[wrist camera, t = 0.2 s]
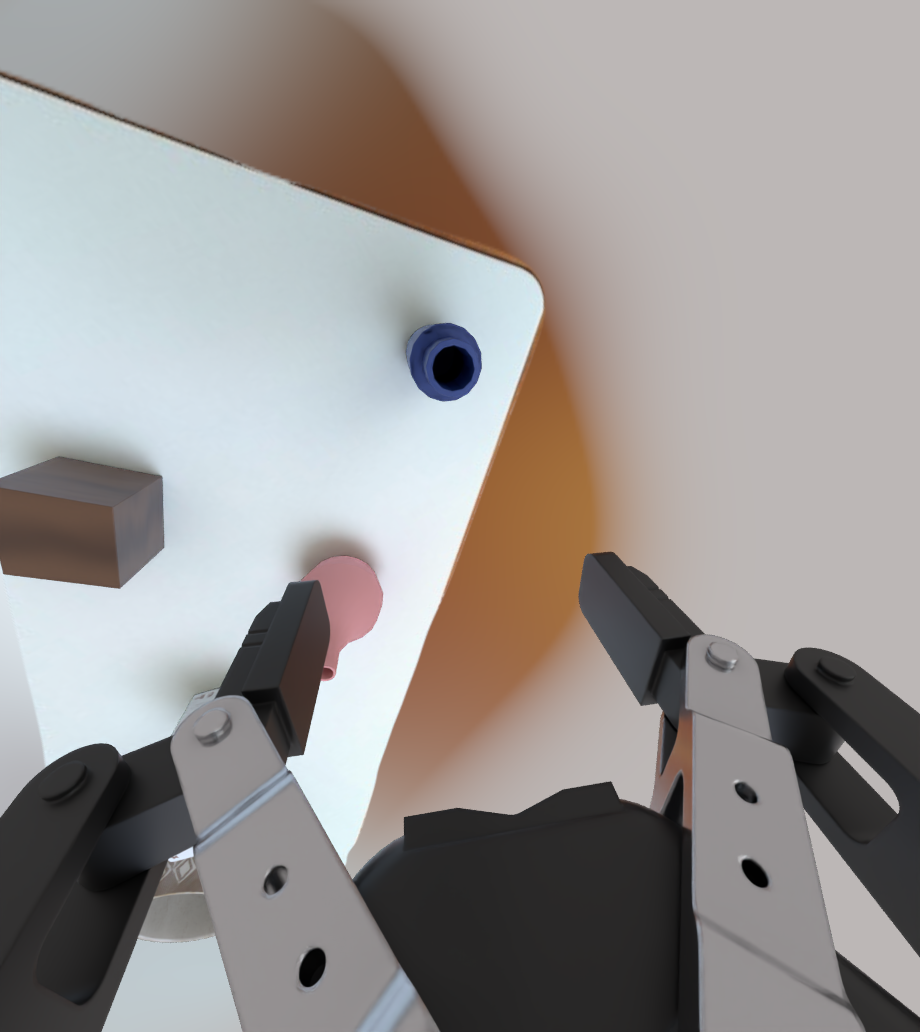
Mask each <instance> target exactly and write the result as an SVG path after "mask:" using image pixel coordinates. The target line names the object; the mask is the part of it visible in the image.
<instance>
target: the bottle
mask: <svg viewBox="0 0 920 1032" xmlns="http://www.w3.org/2000/svg"><path fill="white" fill-rule="evenodd" d="M406 355H407V362H408V365H409V369H410V372H411V375H412V377H413V379H414V381H415V383H416V385H417V386H418V388H419V389H420V390H421V391H422V392H424V393H425V394H426V395H427V396H428V397H430V398H433V399H436V400H439V401H452V400H457V399H459V398H461V397H463V396H464V395H466V394H468V393H469V392H470V391H471V389H472V388H473V387H474V386H475V384H476V383H477V381H478V378H479V375H480V372H481V369H482V363H481V352H480V349H479V347H478V345H477V342H476V340H475V339H474V337H473V336H472V335H471V334H470V333H469V332H468V331H466V330H465V329H464V328H462V327H460V326H457V325H454V324H452V323H443V324H434V325H428V326H423V327H422V328H420V329H418V330H417V331H415V332H414V333H413V335H412V336H411V338H410V339H409V341H408V344H407V349H406Z"/></svg>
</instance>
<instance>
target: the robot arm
mask: <svg viewBox="0 0 920 1032" xmlns="http://www.w3.org/2000/svg"><path fill="white" fill-rule="evenodd" d="M579 604H580V608H581V610H582V613H583V614H584V616H585V618H586V619H587V620H588V622H589V624H590V626H591V627H592V629H593V630H594V632H595V633H596V635H597V637H598V638H599V640H600V642H601V643H602V645H603V646H604V648H605V649H606V651H607V653H608V654H609V655H610V657H611V659H612V661H613V662H614V664H615V665H616V667H617V669H618V670H619V672H620V673H621V675H622V676H623V678H624V680H625V681H626V683H627V685H628V686H629V687H630V689H631V691H632V692H633V694H634V696H635V697H636V699H637V700H638V702H639V703H640V705H641V706H643V705H650V704H657V703H658V704H659V706H660V707H661V709H662V710H663V712H662V715H661V718H660V728H659V740H658V752H657V763H656V775H655V785H654V791H653V796H652V801H651V805H650V808H647V807H645V806H642V805H640V804H637V803H634V802H630V801H627V800H622V799H619V797H618V795H617V793H616V791H615V789H614V786H613V784H612V782H605V783H599V784H593V785H587V786H581V787H576V788H570V789H564V790H561V791H559V792H558V793H556V794H554V795H552V796H550V797H549V798H546V799H545V800H543V801H541V802H539V803H537V804H536V805H534V806H532V807H530V808H528V809H526V810H524V811H522V812H521V813H518V814H515V815H507V814H499V813H492V812H484V811H476V810H469V809H462V808H454V809H448V810H443V811H437V812H431V813H425V814H419V815H413V816H408V817H404V836H402V837H400V838H398V839H396V840H394V841H393V842H391V843H390V844H388V845H387V846H386V847H384V848H383V849H381V850H380V851H379V852H378V853H377V854H376V855H375V856H373V857H372V858H371V859H370V860H369V861H368V862H367V863H366V864H365V865H364V866H363V868H362V869H361V870H360V871H359V872H358V873H357V874H356V876H355V877H354V878H353V880H352V878H351V877H350V875H349V873H348V871H347V870H346V868H345V866H344V864H343V862H342V861H341V859H340V857H339V855H338V853H337V852H336V850H335V848H334V846H333V845H332V843H331V841H330V839H329V837H328V836H327V834H326V832H325V830H324V829H323V827H322V825H321V823H320V821H319V820H318V818H317V816H316V814H315V812H314V811H313V809H312V807H311V805H310V804H309V802H308V800H307V798H306V796H305V795H304V793H303V791H302V789H301V788H300V786H299V784H298V782H297V780H296V779H295V777H294V775H293V774H292V772H291V771H290V770H289V771H288V769H287V768H286V766H285V765H286V761H287V757H292V756H298V755H304V751H305V746H306V742H307V738H308V733H309V729H310V725H311V720H312V716H313V712H314V707H315V703H316V699H317V694H318V690H319V685H320V681H321V677H322V672H323V668H324V664H325V659H326V655H327V651H328V646H329V642H330V621H329V617H328V613H327V609H326V604H325V600H324V596H323V592H322V588H321V584H320V582H319V581H318V580H310V581H299V582H290V583H289V584H288V586H287V588H286V590H285V593H284V595H283V597H282V600H281V601H279V602H270V603H269V604H268V605H267V606H266V607H265V608H264V609H263V610H262V611H261V612H260V613H259V614H258V615H257V616H256V617H255V619H254V621H253V623H252V625H251V627H250V629H249V631H248V635H246V637H245V639H244V641H243V643H242V648H240V649H239V651H238V653H237V655H236V657H235V659H234V661H233V663H232V665H231V667H230V669H229V671H228V673H227V675H226V677H225V679H224V681H223V683H222V685H221V687H220V689H219V691H218V693H217V695H216V697H215V698H214V700H211V701H209V702H207V703H205V704H203V705H202V706H200V707H199V708H197V709H196V710H195V711H193V712H192V713H191V714H190V715H189V716H188V717H186V718H185V719H184V721H183V722H182V723H181V724H180V725H179V727H178V728H177V730H176V731H175V733H174V735H172V736H170V737H168V738H166V739H163V740H161V741H158V742H156V743H153V744H150V745H148V746H145V747H143V748H140V749H138V750H135V751H133V752H130V753H128V754H125V755H123V756H121V755H120V754H119V752H118V751H117V750H116V748H115V747H113V746H112V745H109V744H103V743H99V744H92V745H88V746H85V747H82V748H79V749H77V750H74V751H72V752H70V753H68V754H66V755H64V756H63V757H61V758H59V759H57V760H56V761H54V762H53V763H51V764H50V765H49V766H47V767H46V768H45V769H43V770H42V771H41V772H40V773H38V774H37V775H36V776H35V777H34V778H33V779H32V780H31V781H30V782H29V783H28V784H27V785H26V786H25V787H24V788H23V789H22V791H21V792H20V793H19V794H18V795H17V797H16V798H15V799H14V801H13V802H12V803H11V805H10V806H9V807H8V809H7V810H6V811H5V813H4V814H3V815H2V816H1V818H0V1032H101V1031H102V1029H103V1026H104V1023H105V1021H106V1018H107V1015H108V1013H109V1011H110V1008H111V1006H112V1002H113V1000H114V998H115V995H116V992H117V990H118V988H119V985H120V982H121V980H122V977H123V975H124V972H125V969H126V967H127V964H128V962H129V959H130V957H131V954H132V951H133V949H134V946H135V944H136V941H137V939H138V936H139V934H140V931H141V928H142V926H143V923H144V921H145V918H146V916H147V913H148V911H149V908H150V905H151V903H152V900H153V898H154V895H155V893H156V890H157V887H158V885H159V882H160V880H161V877H162V875H163V872H164V869H165V867H166V864H167V862H168V859H169V858H171V857H173V856H175V855H177V854H179V853H181V852H183V851H185V850H187V849H189V848H191V847H193V855H194V860H195V864H196V868H197V871H198V875H199V878H200V882H201V885H202V889H203V892H204V896H205V900H206V903H207V907H208V910H209V914H210V917H211V921H212V924H213V928H214V931H215V935H216V939H217V942H218V945H219V949H220V953H221V956H222V960H223V963H224V967H225V970H226V974H227V977H228V981H229V985H230V988H231V992H232V995H233V999H234V1002H235V1006H236V1009H237V1013H238V1016H239V1020H240V1024H241V1027H242V1031H243V1032H920V1017H918V1016H917V1015H916V1014H915V1013H914V1012H912V1011H911V1010H910V1009H908V1008H907V1007H906V1006H905V1005H903V1004H902V1003H901V1002H900V1001H899V1000H897V999H896V998H895V997H894V996H892V995H891V994H890V993H888V992H887V991H886V990H885V989H883V988H882V987H881V986H880V985H878V984H877V983H876V982H875V981H873V980H872V979H871V978H870V977H868V976H867V975H866V974H865V973H864V972H862V971H861V970H860V969H859V968H857V967H856V966H855V965H853V964H852V963H851V962H850V961H848V960H847V959H846V958H845V957H843V956H842V955H841V954H840V953H838V952H837V951H836V950H835V948H834V943H833V939H832V934H831V930H830V925H829V921H828V916H827V912H826V907H825V903H824V898H823V894H822V890H821V886H820V880H819V876H818V871H817V867H816V862H815V858H814V853H813V849H812V844H811V840H810V835H809V831H808V826H807V822H806V818H805V813H804V809H805V810H806V812H807V813H808V814H809V815H810V817H811V818H812V819H813V821H814V822H815V823H816V825H817V826H818V827H819V828H820V830H821V831H822V832H823V834H824V835H825V836H826V837H827V839H828V840H829V841H830V843H831V844H832V845H833V846H834V847H835V849H836V850H837V851H838V853H839V854H840V855H841V857H842V858H843V859H844V861H845V862H846V863H847V864H848V866H849V867H850V868H851V869H852V871H853V872H854V873H855V875H856V876H857V877H858V879H859V880H860V881H861V882H862V884H863V885H864V886H865V888H866V889H867V890H868V891H869V893H870V894H871V895H872V897H873V898H874V899H875V900H876V901H877V903H878V904H879V905H880V907H881V908H882V909H883V911H884V912H885V913H886V914H887V916H888V917H889V918H890V920H891V921H892V922H893V924H894V925H895V926H896V927H897V929H898V930H899V931H900V932H901V934H902V935H903V936H904V938H905V939H906V940H907V941H908V943H909V944H910V945H911V947H912V948H913V949H914V951H915V952H916V953H917V954H918V956H919V957H920V714H919V713H918V712H917V711H916V710H914V709H913V708H912V707H910V706H909V705H908V704H907V703H905V702H904V701H903V700H902V699H900V698H899V697H898V696H897V695H895V694H894V693H893V692H891V691H890V690H889V689H888V688H886V687H885V686H884V685H883V684H881V683H880V682H879V681H877V680H876V679H875V678H874V677H873V676H871V675H870V674H869V673H867V672H866V671H865V670H864V669H862V668H861V667H859V666H858V665H856V664H855V663H853V662H852V661H850V660H848V659H846V658H844V657H842V656H840V655H837V654H835V653H832V652H829V651H826V650H822V649H817V648H801V649H799V650H797V651H796V652H795V654H794V655H793V657H792V658H791V660H790V662H789V663H783V662H775V661H768V660H761V659H754V658H753V657H752V656H751V655H750V654H749V653H748V652H747V651H746V650H744V649H743V648H742V647H740V646H739V645H737V644H735V643H733V642H732V641H729V640H727V639H725V638H722V637H718V636H714V635H706V634H704V633H703V632H702V631H701V630H700V629H699V628H698V627H697V626H696V625H695V624H694V623H693V622H692V621H691V620H690V618H689V617H688V616H687V615H686V614H685V613H684V612H683V611H682V610H681V609H680V608H679V607H678V606H677V605H676V604H675V603H674V602H673V601H672V600H671V599H668V596H667V595H666V594H665V593H664V592H663V591H662V590H661V589H659V588H658V586H657V585H656V584H655V583H654V582H653V581H652V580H651V579H650V578H649V577H648V576H647V575H645V574H644V573H642V572H641V571H639V570H637V569H635V568H634V567H632V566H626V565H625V564H624V563H623V562H622V561H621V560H620V558H619V557H618V556H617V555H616V554H615V553H613V552H603V553H593V554H587V555H586V556H585V559H584V564H583V570H582V576H581V582H580V589H579ZM844 741H846V742H847V743H848V744H849V745H850V746H851V747H852V748H853V749H854V750H855V751H856V752H857V753H858V754H859V755H860V756H861V757H862V758H863V759H864V760H865V761H866V762H867V763H868V764H869V765H870V766H871V767H872V768H873V769H874V770H875V771H876V772H877V773H878V774H879V775H880V776H881V777H882V778H883V779H884V780H885V781H886V782H887V783H888V785H889V786H890V787H891V788H892V790H893V791H894V793H895V795H896V797H897V799H898V801H899V806H900V810H899V813H898V814H897V813H896V812H895V811H894V810H893V809H892V808H891V807H890V806H889V805H888V804H887V803H886V802H885V801H884V799H882V797H881V796H880V795H879V794H878V793H877V792H876V791H875V790H874V789H873V788H872V787H871V786H870V785H869V784H868V783H867V782H866V781H865V780H864V779H863V778H862V777H861V776H860V775H859V774H858V772H857V771H856V770H854V768H853V767H852V766H851V765H850V764H849V763H848V762H847V761H846V760H845V759H844V758H843V757H842V756H841V755H840V754H839V753H838V752H837V751H838V749H839V748H840V747H841V745H842V744H843V743H844ZM803 808H804V809H803Z"/></svg>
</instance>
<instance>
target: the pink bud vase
mask: <svg viewBox="0 0 920 1032" xmlns="http://www.w3.org/2000/svg"><path fill="white" fill-rule="evenodd" d="M310 580H318V581H319V582H320V584H321V588H322V592H323V596H324V600H325V604H326V609H327V613H328V617H329V621H330V642H329V646H328V651H327V655H326V659H325V664H324V668H323V672H322V677H321V681H328V680H331V679H333V678H334V677H335V675H336V669H337V663H338V657H339V652H340V651H341V650H342V649H343V648H344V647H345V646H346V645H347V644H348V643H349V642H352V641H354V640H357V639H359V638H362V637H363V636H365V635H366V634H367V633H368V632H369V631H371V630H372V628H373V626H374V624H375V623H376V621H377V619H378V616H379V613H380V610H381V607H382V601H383V592H382V589H381V586H380V584H379V581H378V579H377V577H376V574H375V572H374V571H373V570H372V568H371V567H370V566H369V565H368V564H367V563H365V562H363V561H361V560H359V559H358V558H354V557H349V556H336V557H331V558H328V559H326V560H323V561H321V562H320V563H319V564H318V565H317V566H316V567H315V568H314V569H312V570H311V571H310V572H309V573H308V574H307V575H306V576H305V577H304V578H303V579H302V580H301V581H310Z"/></svg>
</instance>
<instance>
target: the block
mask: <svg viewBox="0 0 920 1032" xmlns="http://www.w3.org/2000/svg"><path fill="white" fill-rule="evenodd" d="M163 548H164V528H163V493H162V477H161V476H156V475H151V474H146V473H140V472H135V471H130V470H125V469H120V468H115V467H110V466H104V465H99V464H94V463H89V462H84V461H79V460H74V459H69V458H63V457H56V458H53V459H51V460H48V461H45V462H43V463H40V464H37V465H34V466H32V467H29V468H26V469H24V470H21V471H18V472H16V473H13V474H10V475H8V476H5V477H2V478H0V562H1V566H2V570H3V574H6V575H14V576H22V577H30V578H38V579H46V580H54V581H62V582H70V583H78V584H87V585H95V586H103V587H111V588H119V589H120V588H121V587H122V586H123V585H124V584H125V583H127V582H128V581H129V580H130V579H131V578H132V577H133V576H134V575H135V574H136V573H137V572H138V571H139V570H141V569H142V568H143V567H144V566H145V565H146V564H147V563H148V562H149V561H150V560H151V559H152V558H153V557H155V556H156V555H157V554H158V553H159V552H160V551H161V550H162V549H163Z"/></svg>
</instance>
